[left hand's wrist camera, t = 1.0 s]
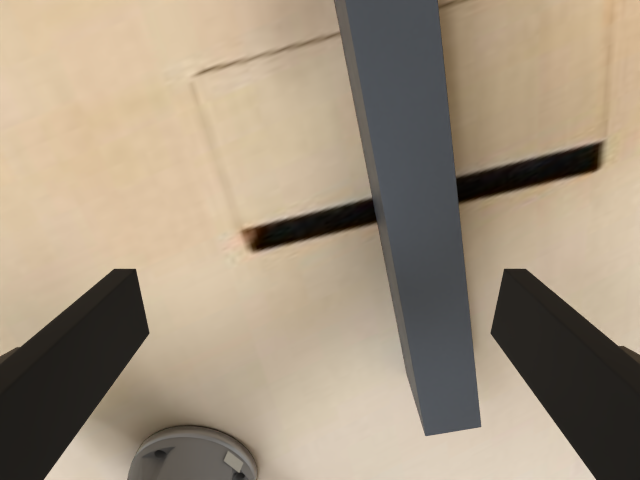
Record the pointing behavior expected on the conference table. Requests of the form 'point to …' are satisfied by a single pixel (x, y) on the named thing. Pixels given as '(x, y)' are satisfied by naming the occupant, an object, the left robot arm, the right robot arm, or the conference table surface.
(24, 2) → the conference table surface
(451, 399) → the beam
